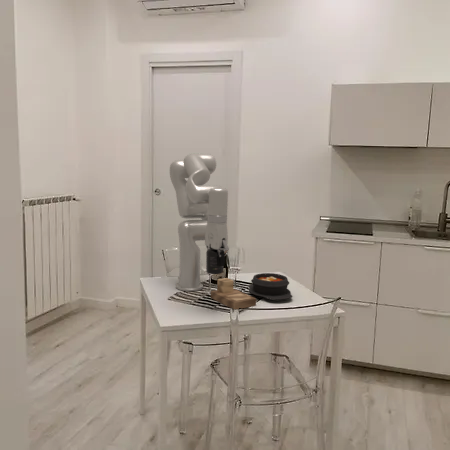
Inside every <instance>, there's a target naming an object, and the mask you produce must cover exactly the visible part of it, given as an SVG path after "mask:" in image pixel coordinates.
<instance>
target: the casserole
mask: <svg viewBox="0 0 450 450" xmlns="http://www.w3.org/2000/svg"><path fill="white" fill-rule="evenodd" d="M250 283H251V284H249V285H248V288H249V290H248V291H249V293H251V294H252V295H254V296H257V297H259V298H263V299H267V300H271V301H272V300H273V301H279V300H280V301H281V300H283V301H284V300H288V299H291V298H293V295H292V293H291V290H290V289H289V288H288V287H289V284H290V281H289V280H288V277H287V276H285V275H283V274H280V273H273V272H271V273H270V272H268V273H267V272H263V273H257V274H254V275H253V277H252V279H251V281H250Z"/></svg>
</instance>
